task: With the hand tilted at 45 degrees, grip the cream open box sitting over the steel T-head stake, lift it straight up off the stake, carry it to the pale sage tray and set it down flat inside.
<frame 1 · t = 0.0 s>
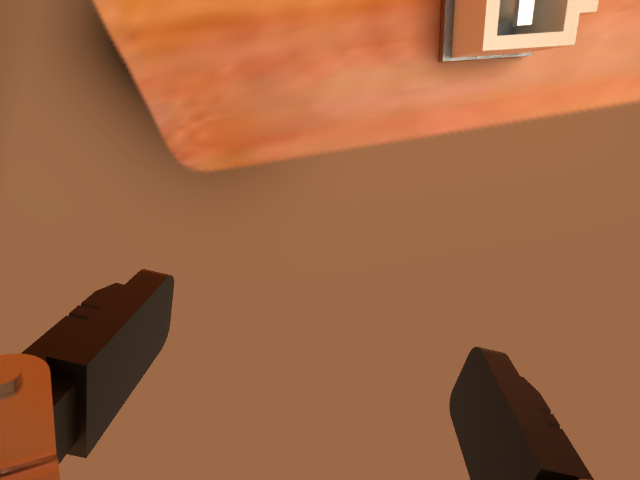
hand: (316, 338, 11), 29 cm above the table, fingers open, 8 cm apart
stake stand: (484, 5, 33), on the table
cream open box: (489, 17, 32), point 1 cm above the table, touching stake stand
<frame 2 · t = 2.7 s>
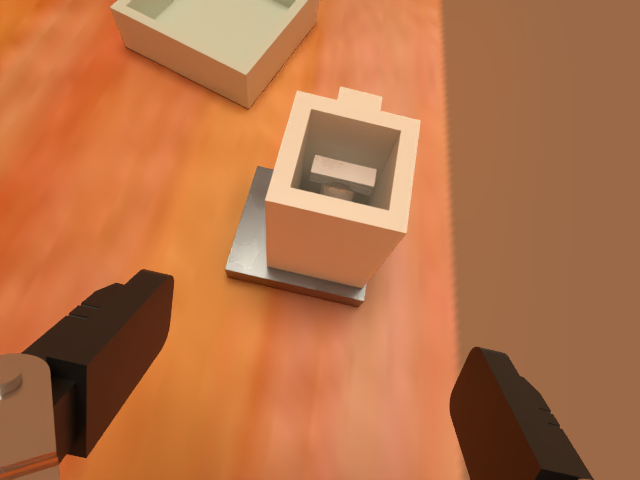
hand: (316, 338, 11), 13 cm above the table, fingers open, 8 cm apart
stake stand: (305, 239, 25), on the table
cream open box: (324, 233, 24), point 1 cm above the table, touching stake stand
tray: (225, 34, 31), on the table
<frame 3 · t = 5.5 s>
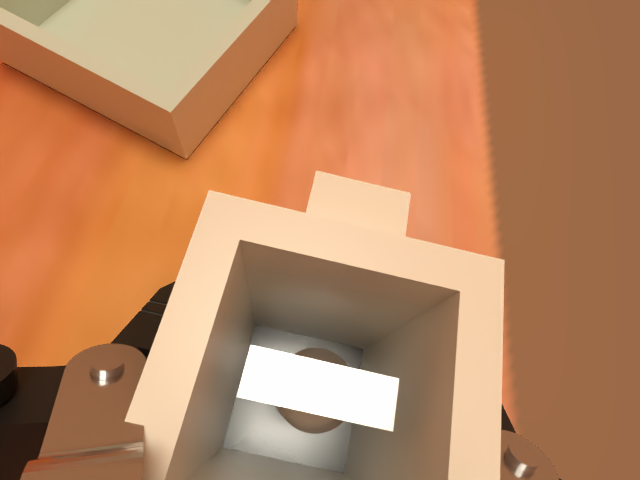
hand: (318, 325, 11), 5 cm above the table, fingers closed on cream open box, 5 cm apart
stake stand: (268, 390, 15), on the table
cream open box: (297, 394, 14), point 2 cm above the table, touching gripper, stake stand
tray: (160, 42, 21), on the table
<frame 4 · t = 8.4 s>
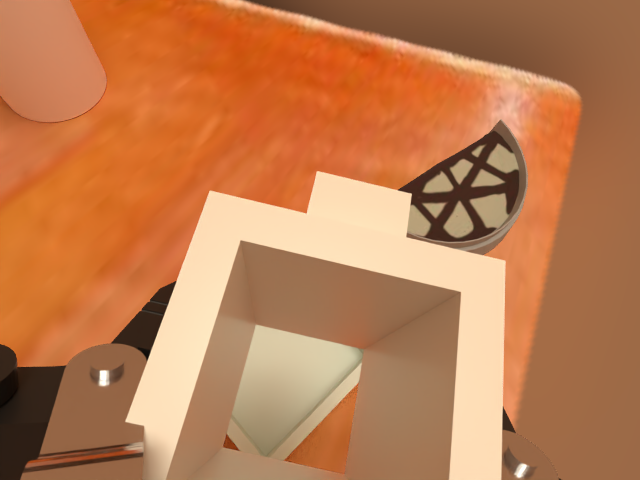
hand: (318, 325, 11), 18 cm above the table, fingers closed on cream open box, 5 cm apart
food container: (415, 256, 33), on the table
cup: (57, 86, 35), on the table
cream open box: (297, 395, 14), point 15 cm above the table, touching gripper
tray: (273, 353, 28), on the table
when the fingers open (6 cm above the table, at t = 11.6 s): cream open box drops 1 cm, resting on tray.
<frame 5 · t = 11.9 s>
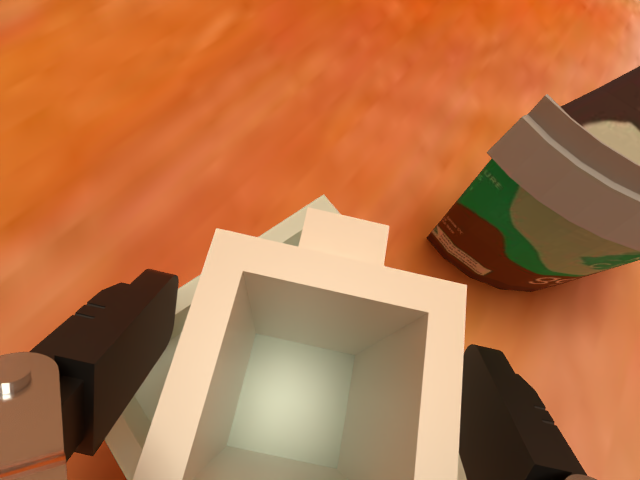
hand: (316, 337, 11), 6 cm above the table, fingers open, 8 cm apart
food container: (534, 249, 20), on the table
cream open box: (294, 397, 15), point 1 cm above the table, touching tray
tray: (292, 396, 16), on the table
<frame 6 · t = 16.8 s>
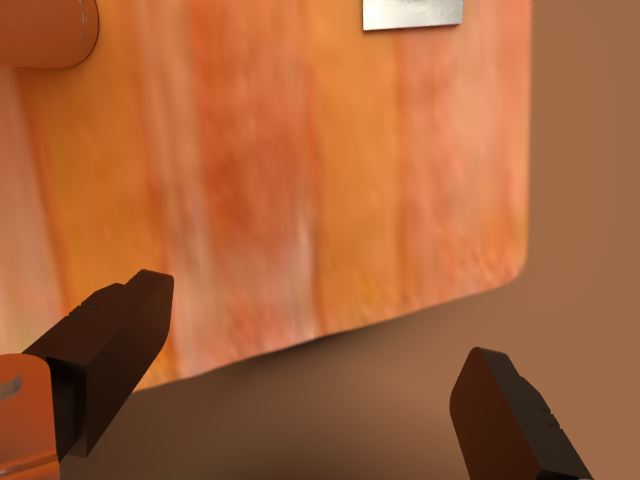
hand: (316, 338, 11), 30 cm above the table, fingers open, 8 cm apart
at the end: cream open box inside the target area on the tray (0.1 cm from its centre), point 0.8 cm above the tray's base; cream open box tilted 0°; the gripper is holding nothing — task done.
